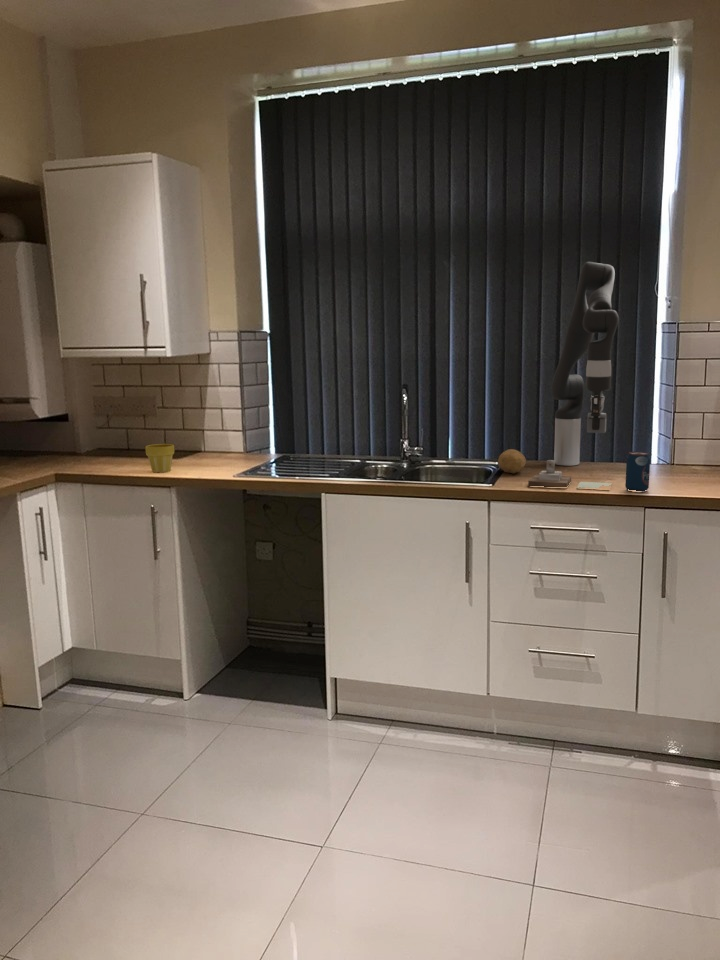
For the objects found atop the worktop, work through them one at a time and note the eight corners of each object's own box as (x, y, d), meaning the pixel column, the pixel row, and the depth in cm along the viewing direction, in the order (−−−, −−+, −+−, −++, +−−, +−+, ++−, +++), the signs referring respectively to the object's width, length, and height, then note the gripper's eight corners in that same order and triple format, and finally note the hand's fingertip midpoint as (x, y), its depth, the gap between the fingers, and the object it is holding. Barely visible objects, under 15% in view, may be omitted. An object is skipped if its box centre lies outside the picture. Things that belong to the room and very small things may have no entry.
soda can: (648, 493, 249) (650, 455, 246) (624, 492, 251) (626, 454, 249) (649, 489, 255) (650, 451, 253) (625, 488, 257) (627, 450, 255)
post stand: (534, 480, 272) (535, 457, 271) (571, 482, 268) (571, 458, 266) (528, 487, 261) (529, 462, 260) (566, 489, 257) (567, 464, 255)
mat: (580, 483, 266) (580, 481, 266) (611, 485, 262) (611, 483, 262) (576, 489, 257) (576, 487, 257) (609, 491, 253) (609, 489, 253)
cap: (606, 431, 258) (607, 411, 257) (604, 433, 253) (605, 412, 251) (588, 430, 260) (588, 410, 259) (586, 432, 255) (587, 412, 253)
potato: (497, 476, 281) (497, 453, 279) (498, 469, 294) (498, 447, 293) (525, 476, 279) (526, 454, 278) (525, 469, 293) (526, 447, 291)
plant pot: (153, 468, 308) (152, 443, 306) (179, 469, 307) (178, 443, 305) (142, 473, 298) (140, 447, 296) (169, 473, 297) (167, 447, 295)
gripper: (609, 376, 245) (607, 431, 248) (612, 373, 258) (610, 426, 261) (583, 376, 248) (581, 431, 251) (588, 373, 261) (586, 425, 264)
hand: (596, 428), depth 256 cm, fingers closed on cap, 5 cm apart
